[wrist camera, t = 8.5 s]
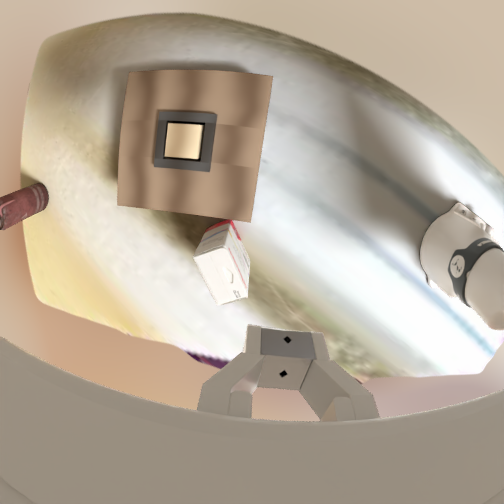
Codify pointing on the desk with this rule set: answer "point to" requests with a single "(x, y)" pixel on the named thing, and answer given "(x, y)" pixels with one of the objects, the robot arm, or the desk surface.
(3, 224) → the can
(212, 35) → the desk surface
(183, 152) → the peg
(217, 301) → the ink box
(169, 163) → the sleeve block
